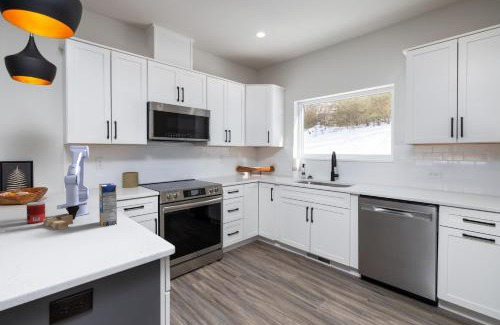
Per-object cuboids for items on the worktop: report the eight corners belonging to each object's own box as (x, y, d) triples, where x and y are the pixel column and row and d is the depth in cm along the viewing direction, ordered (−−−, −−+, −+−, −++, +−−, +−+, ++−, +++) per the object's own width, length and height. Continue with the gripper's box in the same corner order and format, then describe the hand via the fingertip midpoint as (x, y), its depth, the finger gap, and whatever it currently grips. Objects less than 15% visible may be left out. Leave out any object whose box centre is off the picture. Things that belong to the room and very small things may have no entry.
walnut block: (56, 223, 138) (55, 215, 137) (66, 221, 142) (66, 213, 142) (62, 225, 133) (61, 217, 133) (73, 223, 138) (72, 215, 137)
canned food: (48, 220, 143) (48, 201, 143) (35, 224, 136) (35, 204, 135) (37, 219, 144) (36, 201, 144) (23, 223, 136) (22, 204, 136)
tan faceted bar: (43, 224, 135) (43, 219, 135) (52, 222, 139) (52, 217, 139) (59, 229, 127) (59, 224, 126) (68, 227, 130) (68, 222, 130)
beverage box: (102, 226, 133) (102, 186, 132) (99, 221, 142) (99, 184, 141) (116, 224, 137) (116, 185, 136) (112, 220, 146) (112, 183, 145)
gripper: (61, 198, 132) (61, 223, 132) (89, 194, 145) (90, 217, 145) (54, 197, 135) (55, 221, 136) (83, 193, 148) (83, 215, 149)
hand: (72, 219), depth 141 cm, fingers closed
